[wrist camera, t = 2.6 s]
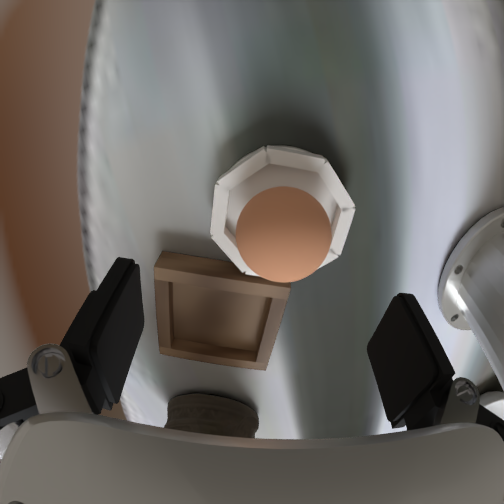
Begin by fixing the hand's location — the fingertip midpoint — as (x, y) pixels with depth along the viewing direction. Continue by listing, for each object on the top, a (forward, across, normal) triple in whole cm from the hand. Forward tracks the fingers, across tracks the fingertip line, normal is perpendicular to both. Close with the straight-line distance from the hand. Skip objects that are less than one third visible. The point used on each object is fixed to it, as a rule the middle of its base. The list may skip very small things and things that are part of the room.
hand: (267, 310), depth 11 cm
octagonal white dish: (+10, -1, 0) cm, 10 cm away
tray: (+10, +2, +9) cm, 13 cm away
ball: (+9, -1, 0) cm, 9 cm away
